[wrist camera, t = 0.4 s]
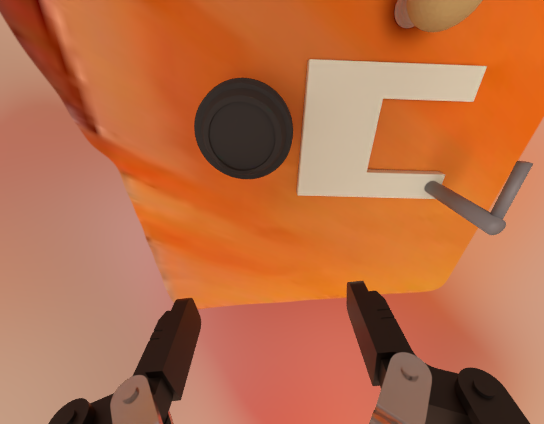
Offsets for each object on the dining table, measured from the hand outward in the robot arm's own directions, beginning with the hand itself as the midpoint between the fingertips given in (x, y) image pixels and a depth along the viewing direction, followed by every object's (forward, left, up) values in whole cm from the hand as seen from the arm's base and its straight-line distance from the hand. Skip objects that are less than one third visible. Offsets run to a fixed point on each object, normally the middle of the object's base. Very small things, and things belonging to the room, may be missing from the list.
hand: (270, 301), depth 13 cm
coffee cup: (-6, -2, -27) cm, 28 cm away
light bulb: (-18, +16, -27) cm, 36 cm away
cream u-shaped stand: (-4, +16, -27) cm, 32 cm away
